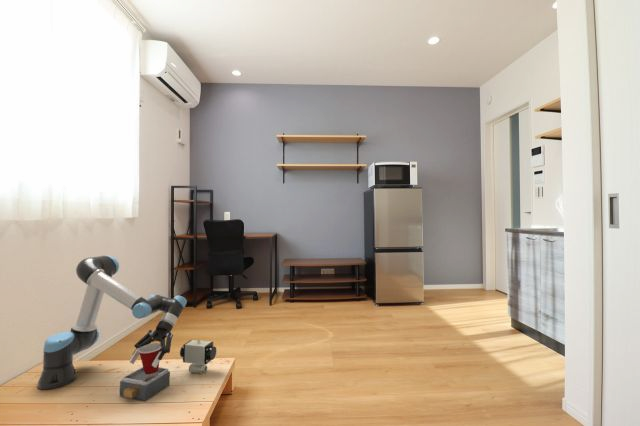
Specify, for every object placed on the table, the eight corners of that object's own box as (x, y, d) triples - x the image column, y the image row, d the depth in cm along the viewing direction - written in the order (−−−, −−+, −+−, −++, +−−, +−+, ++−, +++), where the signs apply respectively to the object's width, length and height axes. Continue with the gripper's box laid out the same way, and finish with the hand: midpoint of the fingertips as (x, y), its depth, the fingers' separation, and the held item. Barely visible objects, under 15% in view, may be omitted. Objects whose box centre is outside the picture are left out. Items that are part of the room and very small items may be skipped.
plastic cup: (150, 378, 144) (148, 352, 145) (134, 376, 148) (132, 350, 149) (169, 367, 155) (167, 343, 155) (153, 365, 159) (152, 342, 159)
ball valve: (217, 370, 173) (218, 337, 174) (209, 377, 165) (210, 343, 166) (188, 367, 176) (189, 335, 177) (178, 374, 168) (179, 341, 169)
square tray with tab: (114, 399, 143) (115, 380, 144) (145, 381, 160) (146, 364, 160) (140, 404, 139) (141, 385, 140) (169, 385, 156) (170, 368, 156)
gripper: (189, 329, 163) (167, 371, 148) (151, 324, 170) (126, 364, 155) (182, 322, 158) (159, 364, 143) (143, 317, 165) (117, 357, 150)
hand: (142, 364), depth 149 cm, fingers open, 13 cm apart
